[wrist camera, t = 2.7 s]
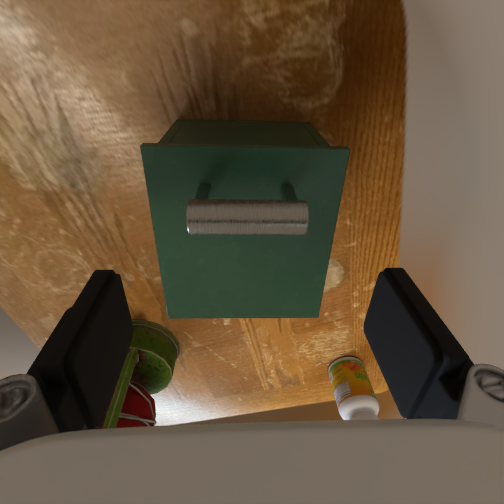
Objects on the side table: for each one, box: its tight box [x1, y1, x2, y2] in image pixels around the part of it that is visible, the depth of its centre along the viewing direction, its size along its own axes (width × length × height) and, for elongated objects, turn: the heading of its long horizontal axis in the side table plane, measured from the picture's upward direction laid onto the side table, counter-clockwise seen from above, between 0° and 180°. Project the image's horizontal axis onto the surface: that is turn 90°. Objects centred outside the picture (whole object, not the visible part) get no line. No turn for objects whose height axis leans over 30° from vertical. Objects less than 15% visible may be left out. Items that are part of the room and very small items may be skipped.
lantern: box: [96, 320, 179, 429], centre depth 33 cm, size 14×11×30 cm
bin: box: [158, 119, 330, 146], centre depth 28 cm, size 13×12×12 cm
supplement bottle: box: [328, 357, 379, 420], centre depth 45 cm, size 5×5×10 cm
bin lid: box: [140, 143, 350, 318], centre depth 20 cm, size 14×12×5 cm
